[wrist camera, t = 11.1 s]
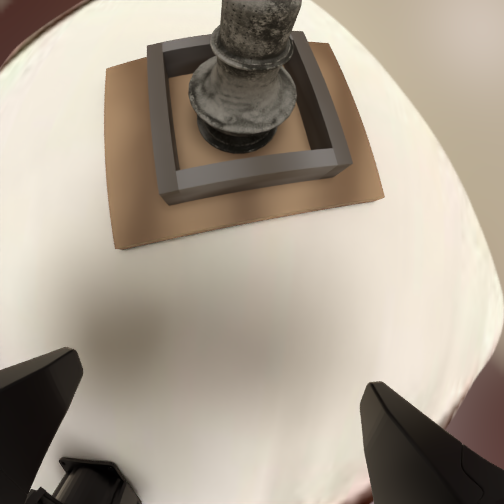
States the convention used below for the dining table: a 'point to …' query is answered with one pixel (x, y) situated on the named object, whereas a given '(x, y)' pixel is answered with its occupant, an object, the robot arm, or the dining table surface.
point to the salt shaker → (246, 75)
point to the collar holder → (223, 163)
